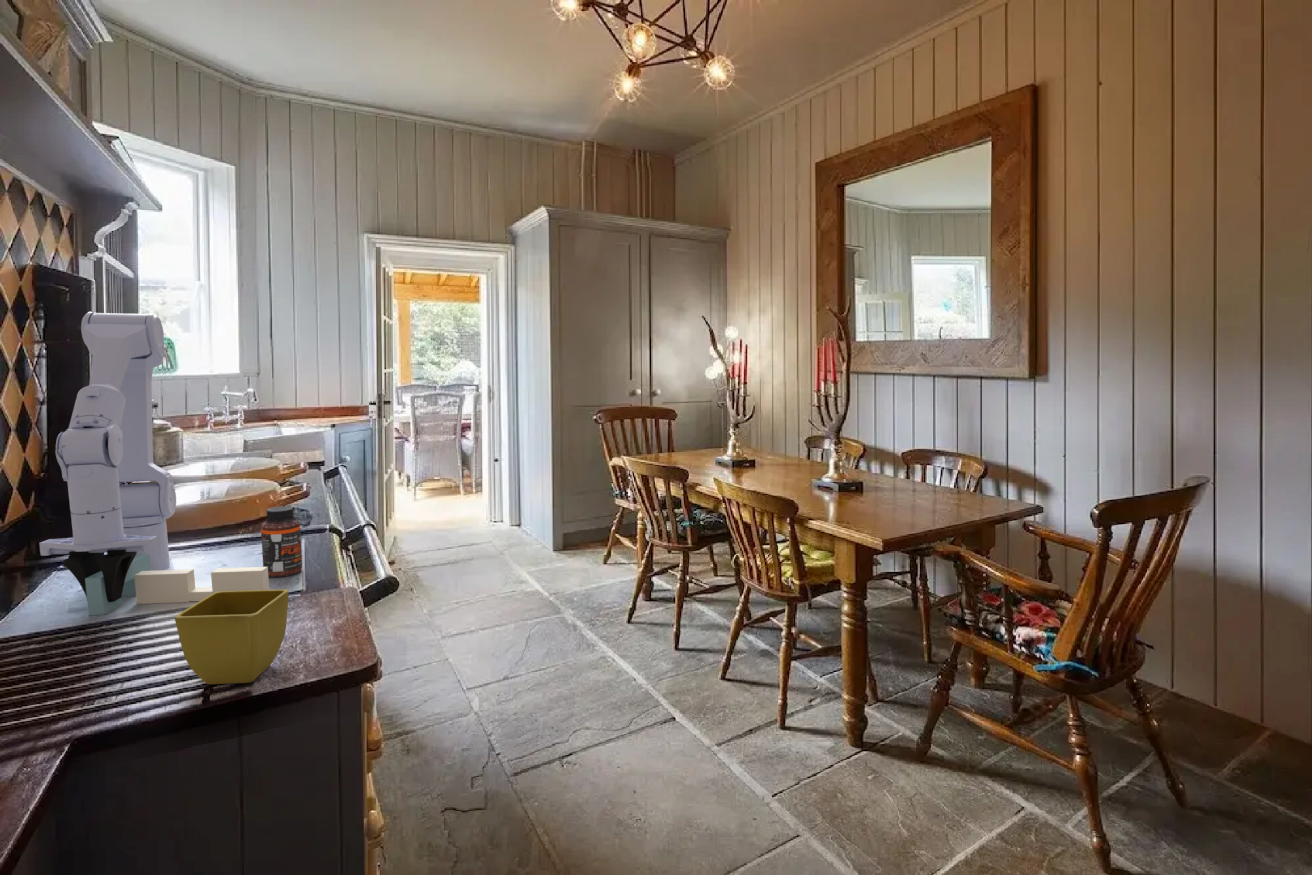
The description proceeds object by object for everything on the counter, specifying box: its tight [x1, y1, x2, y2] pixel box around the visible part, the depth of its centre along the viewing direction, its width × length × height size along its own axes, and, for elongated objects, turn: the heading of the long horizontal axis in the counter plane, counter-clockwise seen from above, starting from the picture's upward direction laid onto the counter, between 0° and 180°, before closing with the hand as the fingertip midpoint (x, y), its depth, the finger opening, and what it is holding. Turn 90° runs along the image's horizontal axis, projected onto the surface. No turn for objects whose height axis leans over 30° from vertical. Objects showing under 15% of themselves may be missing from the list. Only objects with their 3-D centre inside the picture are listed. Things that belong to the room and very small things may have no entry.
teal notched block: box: [85, 554, 151, 616], centre depth 105 cm, size 12×2×6 cm, turn 8°
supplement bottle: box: [260, 505, 303, 578], centre depth 118 cm, size 6×6×11 cm
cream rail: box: [134, 566, 270, 605], centre depth 105 cm, size 18×2×4 cm, turn 98°
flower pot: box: [174, 588, 290, 685], centre depth 81 cm, size 9×9×9 cm
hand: (105, 600), depth 101 cm, fingers closed on teal notched block, 2 cm apart
